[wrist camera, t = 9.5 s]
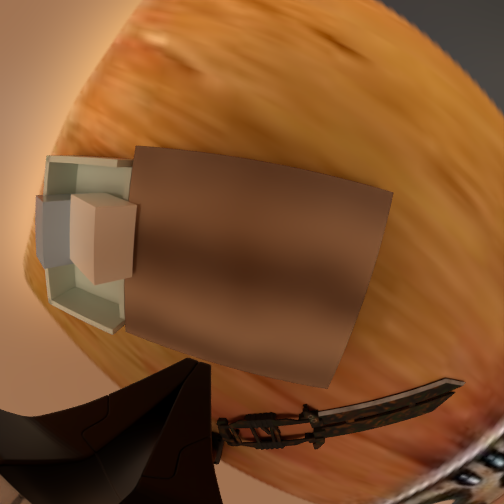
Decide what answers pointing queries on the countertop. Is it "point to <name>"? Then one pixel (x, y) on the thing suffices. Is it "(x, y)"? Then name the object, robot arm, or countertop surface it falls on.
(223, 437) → the knife
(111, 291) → the tray
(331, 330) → the board
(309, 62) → the countertop surface
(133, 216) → the cream block
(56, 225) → the grey block
